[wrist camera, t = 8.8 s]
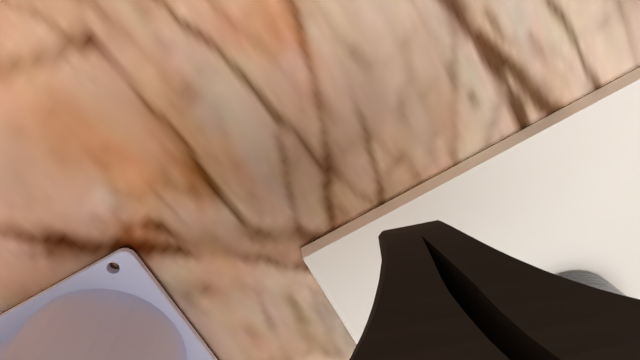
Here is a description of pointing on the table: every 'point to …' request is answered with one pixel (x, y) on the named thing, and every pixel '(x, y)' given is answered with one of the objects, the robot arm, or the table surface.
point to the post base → (516, 203)
